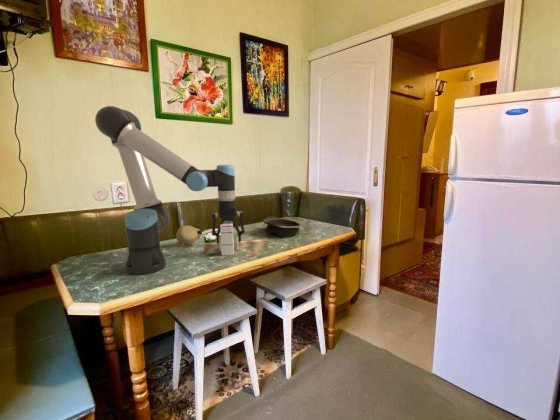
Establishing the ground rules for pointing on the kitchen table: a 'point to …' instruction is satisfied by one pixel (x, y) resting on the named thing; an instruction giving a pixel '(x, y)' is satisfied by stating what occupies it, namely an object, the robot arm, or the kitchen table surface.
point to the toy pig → (188, 235)
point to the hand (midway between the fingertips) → (229, 249)
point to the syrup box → (227, 238)
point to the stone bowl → (282, 226)
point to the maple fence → (242, 247)
